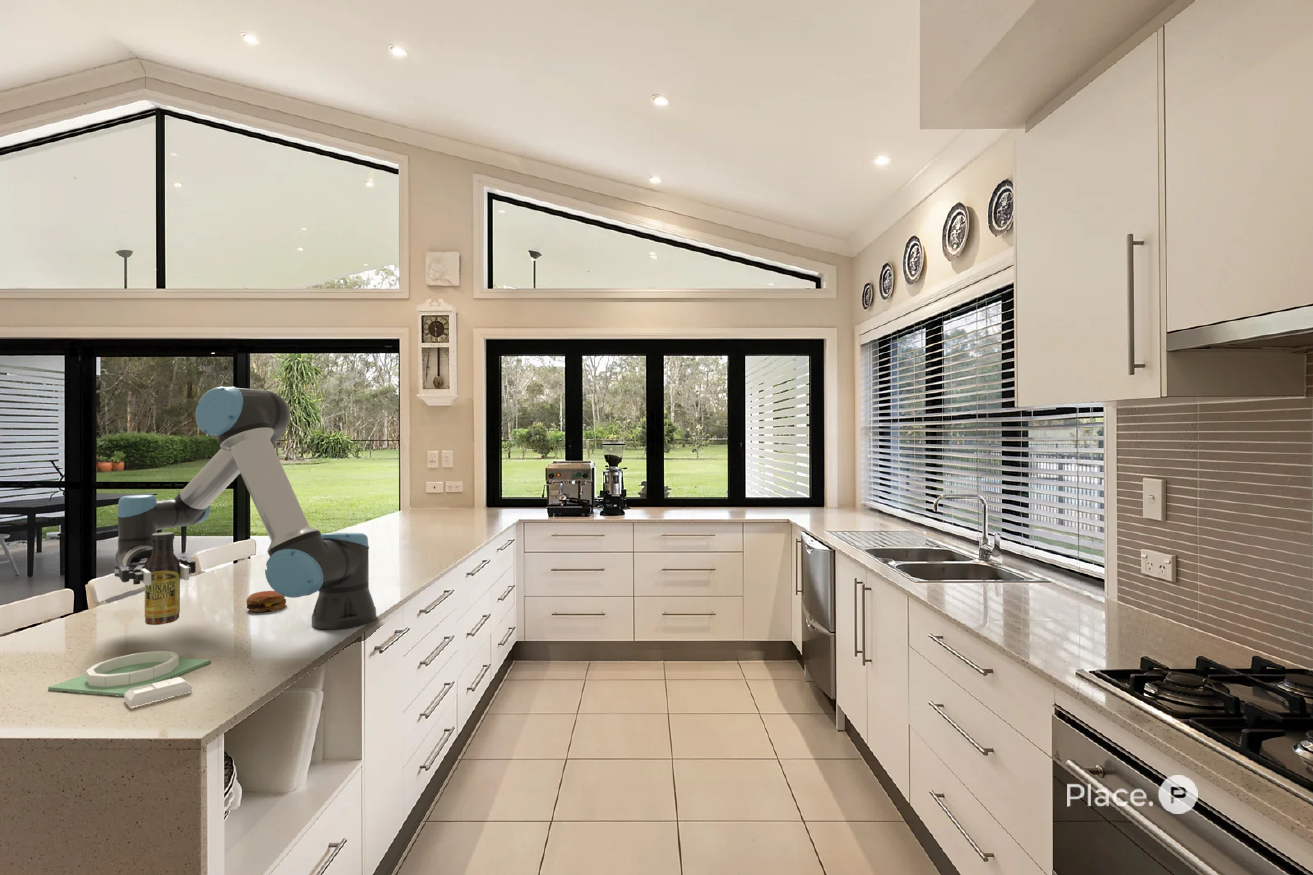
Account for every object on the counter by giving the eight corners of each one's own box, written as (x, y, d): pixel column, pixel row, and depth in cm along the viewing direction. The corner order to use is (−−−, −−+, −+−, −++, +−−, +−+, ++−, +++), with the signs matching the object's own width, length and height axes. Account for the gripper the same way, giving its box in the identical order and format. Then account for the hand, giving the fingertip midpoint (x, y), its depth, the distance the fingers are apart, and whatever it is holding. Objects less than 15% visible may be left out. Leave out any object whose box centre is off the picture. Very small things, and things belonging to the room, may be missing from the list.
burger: (267, 603, 185) (267, 587, 185) (293, 605, 182) (293, 589, 182) (237, 612, 175) (236, 595, 175) (263, 615, 173) (263, 598, 173)
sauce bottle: (141, 628, 138) (137, 537, 137) (148, 620, 143) (145, 532, 143) (179, 623, 141) (175, 534, 140) (184, 615, 146) (180, 529, 146)
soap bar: (191, 695, 120) (191, 681, 120) (130, 711, 113) (130, 696, 113) (183, 688, 123) (183, 674, 123) (124, 703, 116) (124, 689, 116)
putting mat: (210, 662, 136) (210, 650, 136) (125, 697, 118) (125, 683, 118) (140, 657, 139) (140, 645, 139) (48, 690, 121) (48, 676, 121)
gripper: (193, 571, 161) (219, 585, 145) (94, 585, 147) (111, 602, 131) (192, 542, 161) (219, 553, 145) (93, 552, 147) (111, 566, 131)
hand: (168, 576), depth 138 cm, fingers closed on sauce bottle, 6 cm apart
